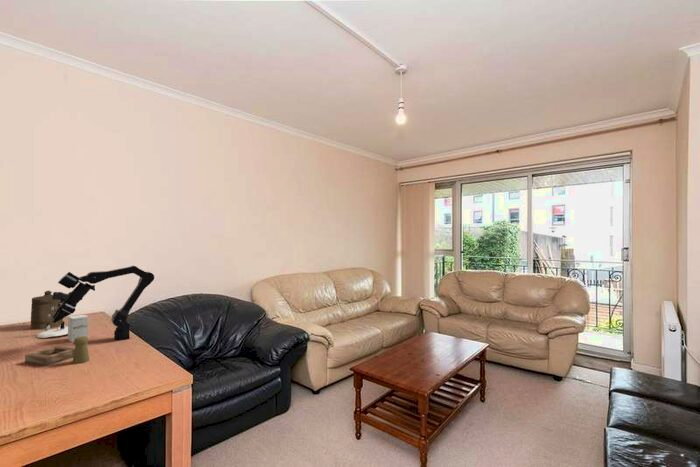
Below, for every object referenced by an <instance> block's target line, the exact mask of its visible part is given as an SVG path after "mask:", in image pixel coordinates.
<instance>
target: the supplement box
mask: <svg viewBox="0 0 700 467" xmlns="http://www.w3.org/2000/svg"><path fill="white" fill-rule="evenodd" d="M67 326H68V334H67V341H69V342H71V343H74V340H75V339H76V338H78V337H82V336H86V337H88V338H89V316H88V315H86V314H80V315H73V316H71V315H70V316H67Z"/></svg>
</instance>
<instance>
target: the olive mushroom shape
mask: <svg viewBox="0 0 700 467" xmlns="http://www.w3.org/2000/svg"><path fill="white" fill-rule="evenodd" d="M89 340H90V338H89V336H88V337H86V336H82V337H78V338H76V339H75V340H74V342H73V344H74V345H75V347H74V348H75V351H74V357H73V358H72V364H74V365H80V364H85V363H88V362H89V361H90V353H89V348H88V343H89Z"/></svg>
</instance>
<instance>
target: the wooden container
mask: <svg viewBox="0 0 700 467" xmlns="http://www.w3.org/2000/svg"><path fill="white" fill-rule="evenodd" d="M52 295H53V292H52V291H51V290H45V291H44V294H43V295H40V296H34V297H32V298H31V309H30V310H31V311H30V329H32V330H44V328H45V326H46V325H47V323H49V324H50V329H52V328H53V329H54V328H57V326H58V327H61V326H60V325H61V324H62V322H63V321H64V318H63V319H61V320H59V321H57V325H56V322H55V323H54V322H53V320H54V319H53V318H49V319H47V318H48V316H47V315H51V317H53V316H54V315H55V314H52V313H51V312H53V313H55V311H54V310H51V307H56V311H57V310H58V308H59V306H58V303H59V301H60V300H57V299H55V300H54V299H51V297H52Z"/></svg>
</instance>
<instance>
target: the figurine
mask: <svg viewBox="0 0 700 467" xmlns="http://www.w3.org/2000/svg"><path fill="white" fill-rule="evenodd" d="M51 310H54V311H55V313H56V307H51ZM51 313H52V314H55V313H53V312H51ZM47 316H48V318H47V319H49V318H53V317H51V315H47ZM56 325H57V322H56ZM64 335H68V325H66V323H65V321H64V320H63V322H62V324H61V326H57V327H55V328H53V329H52V328H50V324H49V323H47V325H46V326H45V328H44V329H43V330H42V331H40V332H38V333H37V334H36V338H39V339H40V338H42V339H46V338H51V337H59V336H60V337H61V336H64Z"/></svg>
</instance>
